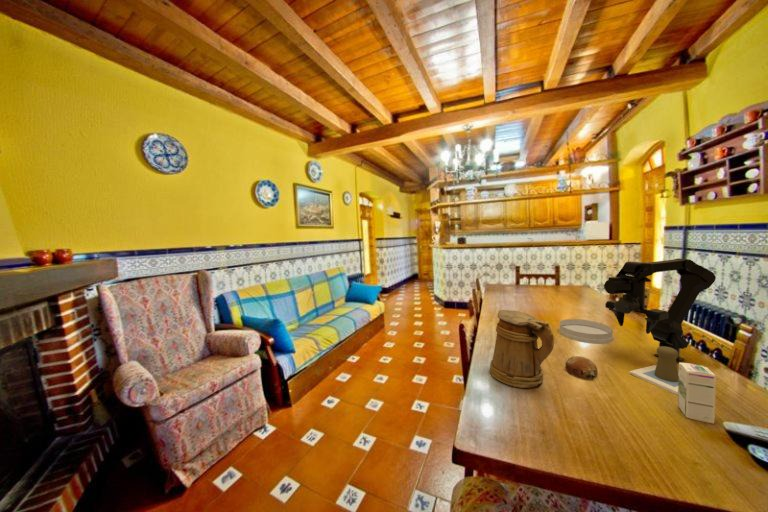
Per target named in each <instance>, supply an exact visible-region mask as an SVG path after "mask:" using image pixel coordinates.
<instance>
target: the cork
mask: <svg viewBox="0 0 768 512" xmlns="http://www.w3.org/2000/svg"><path fill="white" fill-rule="evenodd" d="M656 354H658V355H659V357H657V361H656V364H655V365H656V369H655V373H654V375H655V376H656V377H658V378H660V379H662V380H665V381H670V382H678V380H679V376H678V373H679V369H678V364H677V363H678V362H676V358H677V357H678V352H677V350H675V349H673V348H670V347H665V346H661V347H659V346H658V347H657V348H656Z"/></svg>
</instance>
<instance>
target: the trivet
mask: <svg viewBox="0 0 768 512" xmlns="http://www.w3.org/2000/svg"><path fill="white" fill-rule="evenodd" d="M656 365H657V364H653V365H650V366H645V367H641V368H637V369H633V370H630V371H628V372H629V375H631V376H633V377H635V378H638V379H640V380H642V381H645V382H646V383H647V382H648V383H650V384H652V385H654V386H656V387H658V388H660V389H662V390H666V391H667V392H669V393H672V394H674V395H677V396H678V382H670V381H665V380H662V379H660V378H658V377H656V376H655V375H654V373H655V369H656ZM678 376H679V372H678Z"/></svg>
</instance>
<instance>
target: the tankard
mask: <svg viewBox="0 0 768 512" xmlns="http://www.w3.org/2000/svg"><path fill="white" fill-rule="evenodd" d="M497 318H498V322H497V323H496V327H495V332H496V337H495V343H494V349H493V354H492V355H493V356H492V359H491V361H490V364H489V372H490V374H491V376H492V377H493V378H494V379H496V380H497V381H499V382H500V383H503V384H505V385H508V386H511V387H515V388H522V389H531V388H535V387H536V386H539V385H541V384H542V383H543V381H544V369H543V367H542V366H541V365H542V363H543V362H544V361H545V360H547V358H548V357H549V356H550V355H551V353H552V352H553V349H554V347H555V338H554V333H553V331H552V328H551V327H550V324H549V322H547V321H543V320H540V319H537V318H536V317H535V316H534V315H531V314H529V313H527V312H524V311H520V310H511V309H510V310H509V309H507V310H505V309H500V310H499V311H498V312H497ZM539 339H540V340H541V346H540V347H539V346H538V340H539Z"/></svg>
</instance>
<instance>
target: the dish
mask: <svg viewBox="0 0 768 512" xmlns="http://www.w3.org/2000/svg"><path fill="white" fill-rule="evenodd" d="M558 327H559V328H558V332H559V334H560V335H561V336H563V337H564V338H567V339H569V340H573V341H576V342H580V343H585V344H594V345H604V344H609V343H613V340H614V335H613V333H614V332H613V328H611V327H610V326H608V325H607V324H604V323H602V322H597V321H593V320H589V319H580V318H568V319H562V320H560V321H559V326H558Z"/></svg>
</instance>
